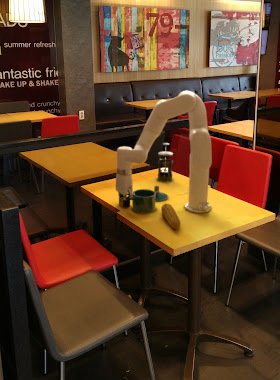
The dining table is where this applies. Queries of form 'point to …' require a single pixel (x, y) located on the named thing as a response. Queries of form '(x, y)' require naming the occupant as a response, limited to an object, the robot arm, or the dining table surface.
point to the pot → (143, 200)
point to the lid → (160, 195)
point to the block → (121, 201)
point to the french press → (165, 173)
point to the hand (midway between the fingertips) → (124, 204)
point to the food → (170, 215)
